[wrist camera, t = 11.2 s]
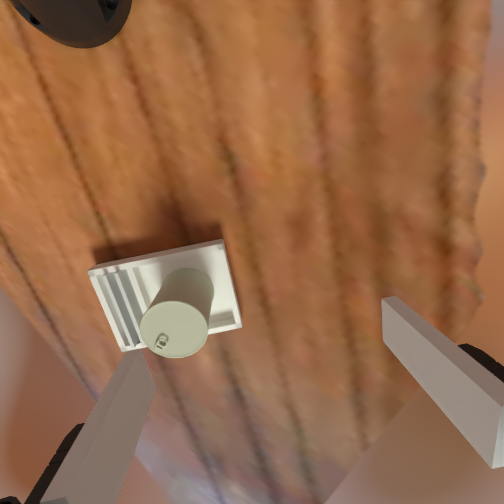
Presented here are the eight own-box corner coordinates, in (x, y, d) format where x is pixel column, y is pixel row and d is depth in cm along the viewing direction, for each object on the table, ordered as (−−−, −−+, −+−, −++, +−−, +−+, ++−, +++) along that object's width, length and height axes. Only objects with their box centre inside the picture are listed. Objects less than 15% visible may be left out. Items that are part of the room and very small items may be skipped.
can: (150, 295, 46) (123, 338, 35) (182, 257, 44) (164, 288, 33) (193, 323, 49) (181, 372, 37) (225, 288, 47) (222, 327, 35)
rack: (96, 264, 45) (83, 273, 41) (223, 238, 45) (222, 245, 41) (128, 341, 50) (119, 355, 46) (241, 318, 50) (242, 330, 46)
